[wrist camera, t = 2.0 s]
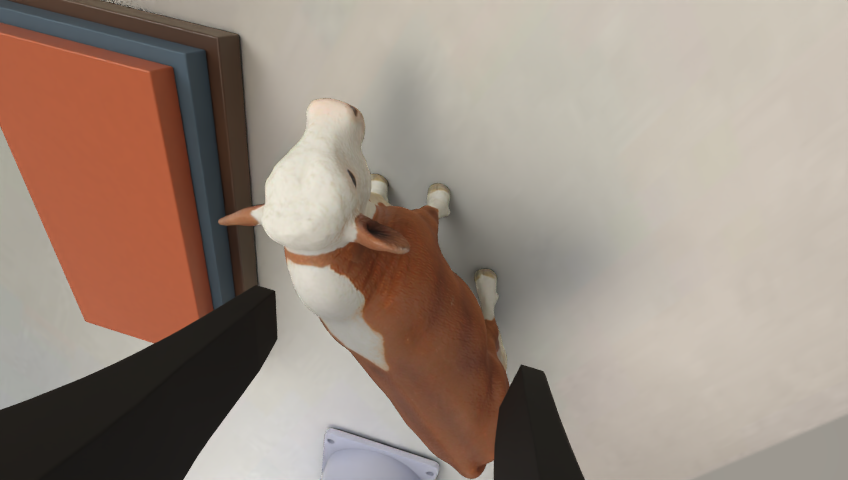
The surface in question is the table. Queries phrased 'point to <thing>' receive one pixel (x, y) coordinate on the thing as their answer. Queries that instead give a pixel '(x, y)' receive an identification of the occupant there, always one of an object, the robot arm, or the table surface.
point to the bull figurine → (387, 286)
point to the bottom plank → (225, 103)
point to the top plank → (107, 179)
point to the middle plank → (193, 113)
